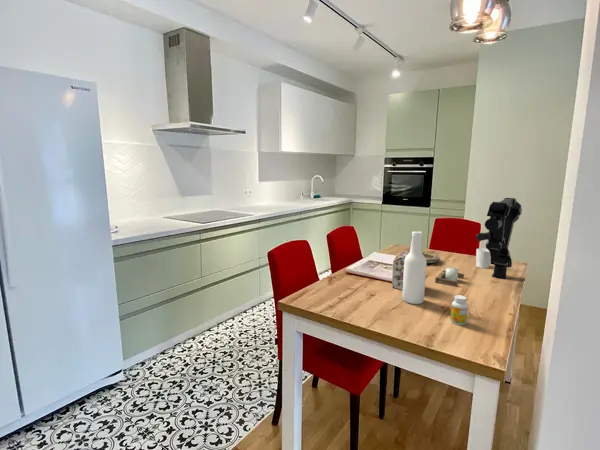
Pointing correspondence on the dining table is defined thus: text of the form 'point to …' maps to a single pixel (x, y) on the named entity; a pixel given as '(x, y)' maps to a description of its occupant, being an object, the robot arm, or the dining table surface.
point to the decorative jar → (399, 270)
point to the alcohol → (414, 272)
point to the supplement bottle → (459, 310)
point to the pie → (430, 257)
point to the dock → (447, 282)
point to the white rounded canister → (451, 274)
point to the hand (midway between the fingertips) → (493, 259)
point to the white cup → (483, 258)
